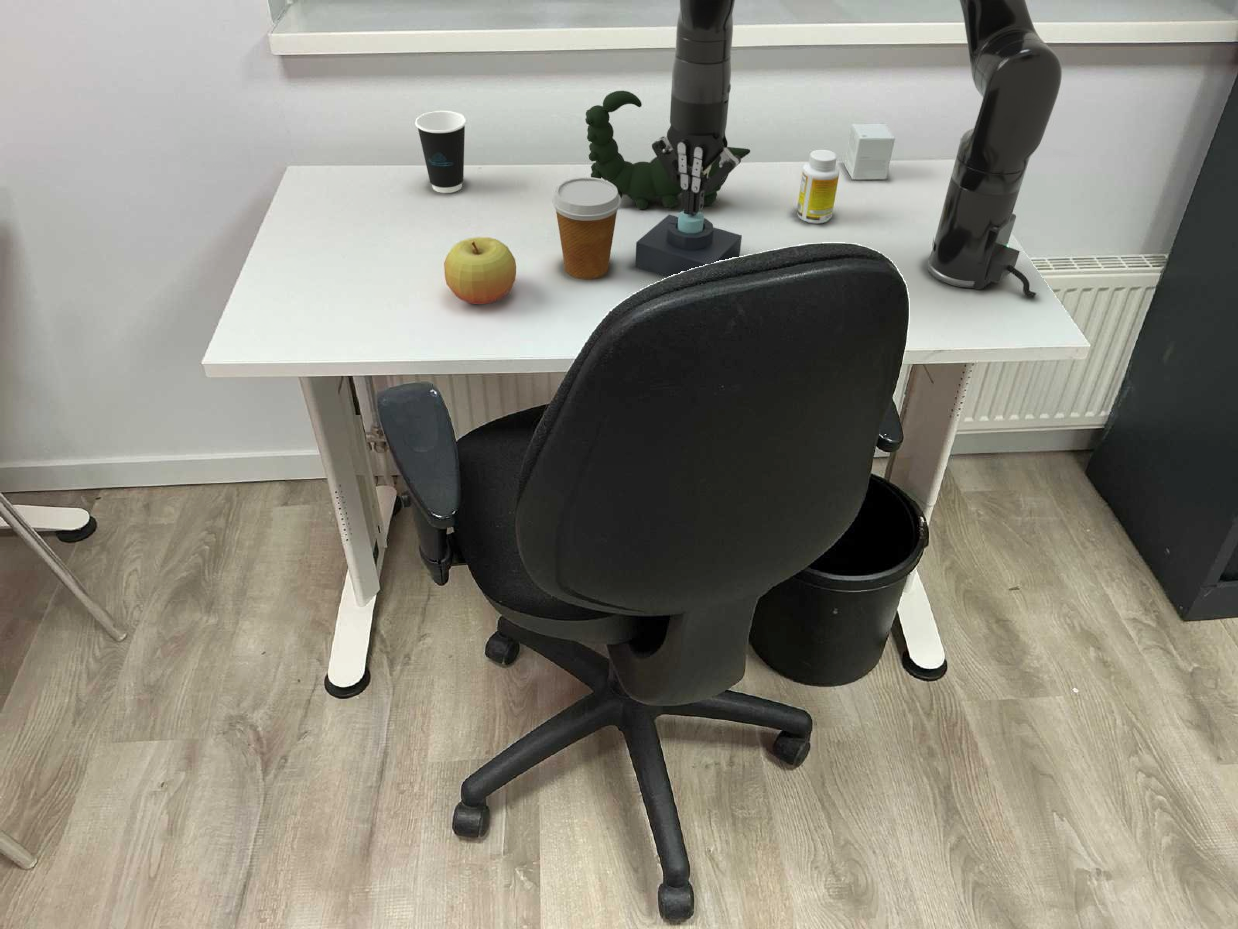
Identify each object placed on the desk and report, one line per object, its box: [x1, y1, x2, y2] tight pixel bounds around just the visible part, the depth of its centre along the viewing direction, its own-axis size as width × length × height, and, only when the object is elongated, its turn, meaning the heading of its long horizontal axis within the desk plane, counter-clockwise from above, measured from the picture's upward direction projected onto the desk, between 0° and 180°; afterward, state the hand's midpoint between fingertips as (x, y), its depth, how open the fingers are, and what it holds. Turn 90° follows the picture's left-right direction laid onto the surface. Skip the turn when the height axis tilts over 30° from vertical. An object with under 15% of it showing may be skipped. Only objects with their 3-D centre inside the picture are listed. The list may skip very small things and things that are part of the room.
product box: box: [844, 123, 896, 180], centre depth 167 cm, size 6×6×7 cm
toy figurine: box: [585, 90, 751, 210], centre depth 154 cm, size 9×19×25 cm
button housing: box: [634, 213, 743, 278], centre depth 143 cm, size 12×10×6 cm
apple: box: [443, 236, 517, 305], centre depth 135 cm, size 10×10×8 cm
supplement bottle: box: [796, 149, 840, 224], centre depth 154 cm, size 6×6×10 cm
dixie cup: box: [414, 110, 467, 194], centre depth 158 cm, size 8×8×11 cm
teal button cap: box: [677, 210, 705, 233], centre depth 141 cm, size 4×4×2 cm
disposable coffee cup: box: [551, 176, 622, 280], centre depth 140 cm, size 10×10×12 cm
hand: (691, 212), depth 140 cm, fingers closed
